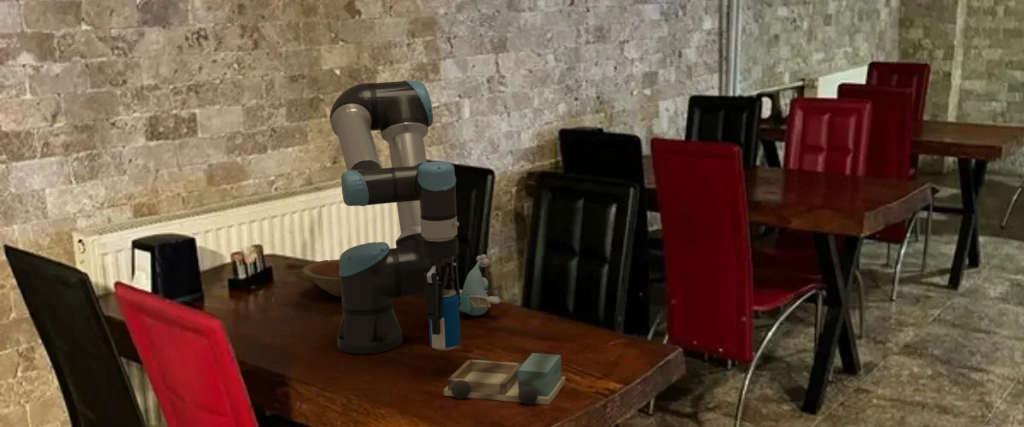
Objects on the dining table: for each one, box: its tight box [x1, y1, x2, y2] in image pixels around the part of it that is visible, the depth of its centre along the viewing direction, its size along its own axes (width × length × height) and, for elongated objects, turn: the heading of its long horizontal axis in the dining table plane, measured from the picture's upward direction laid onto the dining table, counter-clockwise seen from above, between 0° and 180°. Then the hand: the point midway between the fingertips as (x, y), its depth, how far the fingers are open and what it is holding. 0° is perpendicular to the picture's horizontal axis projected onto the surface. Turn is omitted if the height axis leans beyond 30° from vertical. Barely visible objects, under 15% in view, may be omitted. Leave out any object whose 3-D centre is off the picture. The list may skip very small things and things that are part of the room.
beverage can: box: [428, 289, 461, 351], centre depth 211 cm, size 6×6×12 cm
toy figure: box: [459, 254, 502, 317], centre depth 251 cm, size 17×10×15 cm, turn 50°
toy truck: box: [443, 352, 566, 406], centre depth 202 cm, size 22×14×6 cm, turn 72°
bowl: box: [302, 259, 342, 298], centre depth 276 cm, size 24×24×8 cm
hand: (445, 341), depth 212 cm, fingers closed on beverage can, 6 cm apart
